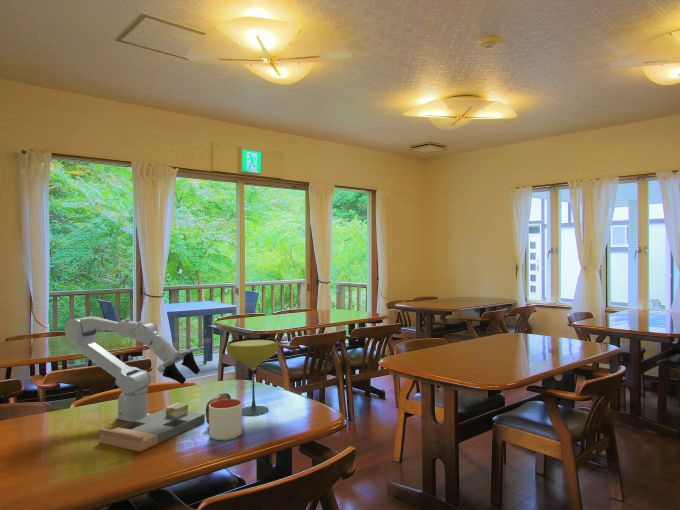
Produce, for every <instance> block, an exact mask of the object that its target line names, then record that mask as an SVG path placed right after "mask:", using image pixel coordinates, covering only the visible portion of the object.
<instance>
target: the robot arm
mask: <svg viewBox="0 0 680 510" xmlns="http://www.w3.org/2000/svg"><path fill="white" fill-rule="evenodd" d="M98 330H102V331H111V332H116V334H117V335H118V336H120V337H125V338H129V339H134V340H135V341H136V342H138V343H143V344H144V345H145V346H147V348H148V349H150V350H151V351H152V352H153V353H154V354H155V355H156V357H158V359H160V360H161V362H163V363H161V364H160V365H159V366H158V367H157V368H156V369H157V371H158V372H159V373H160V374H161V375H162V376H163V377H165V378H168V379H171V380H174V381H176V382H177V383H179V384H181V385H184V383H185V382H186V380H187V378H186V377H185V376H184V375H183V374H182V373H181V372H180V371H179V369H178V367H177V365H176V364H177V363H179V362H181V361H182V362H181V365H182V366H184V367H186V368H187V369H189V370H190V371H191V372H192V373H194V374H195V375H198V374H199V373H200V371H201V369H200V368H199V366H198V364H197V362H196V360H195V357H194V353H193V352H192V351H191V350H189V348H187V349H185V350H182V351H180V350H177V349H176V348H175V346H173V345H172V344H171V343H170V342H169V341H168V340H167V339H166V338H165V337H164V336H163V335H162V334H161V333H160V332H159V330H158V327H157V325H156V324H154V323H153V322H151V321H150V322H146V323H144V322H143V321H133V320H131V318H124V319H122V320H120V321H115V320H111V319H107V318H103V317H99V316H91V315H88V316H84V317H80V318H71V319H69V320H67V321H66V323H65V324H64V334H65V337H66V338H67V339H69V340H71V342H72V343H73V345H74V347H75V349H76V350H77V351H78V352H79V353H80V354H81V355H83V356H84V357H85V358H87V359H89V360H90V361H91V362H92V363H94V364H95V365H97V366H98V367H100V368H101V369H103V370H104V371H105V372H107V373H108V374H109V375H110V376H112V377H114V378H115V386H118V387H119V389H120V390H121V393H120V394H119V396H118V398H117V416H116V417H115V420H120V421H124V422H128V423H130V422H133V421H135V420H138V419H140V418H143V417H146V416H148V415H151V414H152V413H149V412H148V387H149V386H150V384H151V381H152V377H151V373H149V372H148V371H147V370H144V369H140V368H138V367H135V366H131V365H130V366H129V365H127V364H126V363H124V362H123V361H122V360H121V359H119V358H118V357H116V356H115V355H113V354H112V353H110V352H109V351H108V350H107V349H105V348H103V347H102V346H101V345H99V344H98V343H96V339H97V333H98Z"/></svg>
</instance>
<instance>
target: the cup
mask: <svg viewBox="0 0 680 510" xmlns="http://www.w3.org/2000/svg"><path fill="white" fill-rule="evenodd" d="M242 408H243V402H242V401H241V400H239V399H234V398H231V399H223V400H217V401H214V402H212V403H210V404H209V424H208V433H209V437H210V438H211V439H213V440H216V441H230V440H234V439H236V438H238V437H240V436H241V434H242V433H243V415H242Z"/></svg>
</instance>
